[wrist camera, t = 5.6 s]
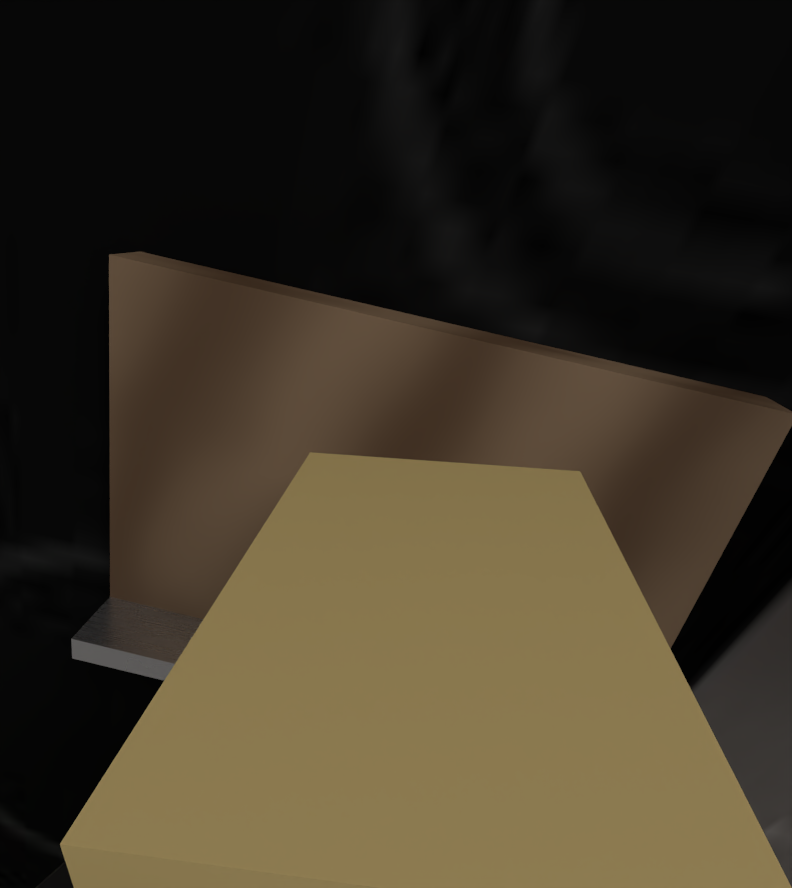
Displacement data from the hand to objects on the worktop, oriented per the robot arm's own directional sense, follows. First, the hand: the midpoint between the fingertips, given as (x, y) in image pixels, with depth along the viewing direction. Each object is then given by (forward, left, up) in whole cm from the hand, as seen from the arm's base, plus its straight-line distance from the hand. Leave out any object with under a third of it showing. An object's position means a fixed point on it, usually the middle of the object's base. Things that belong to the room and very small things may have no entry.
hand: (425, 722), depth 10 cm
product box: (0, 0, -2) cm, 2 cm away
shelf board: (+1, 0, -8) cm, 8 cm away
